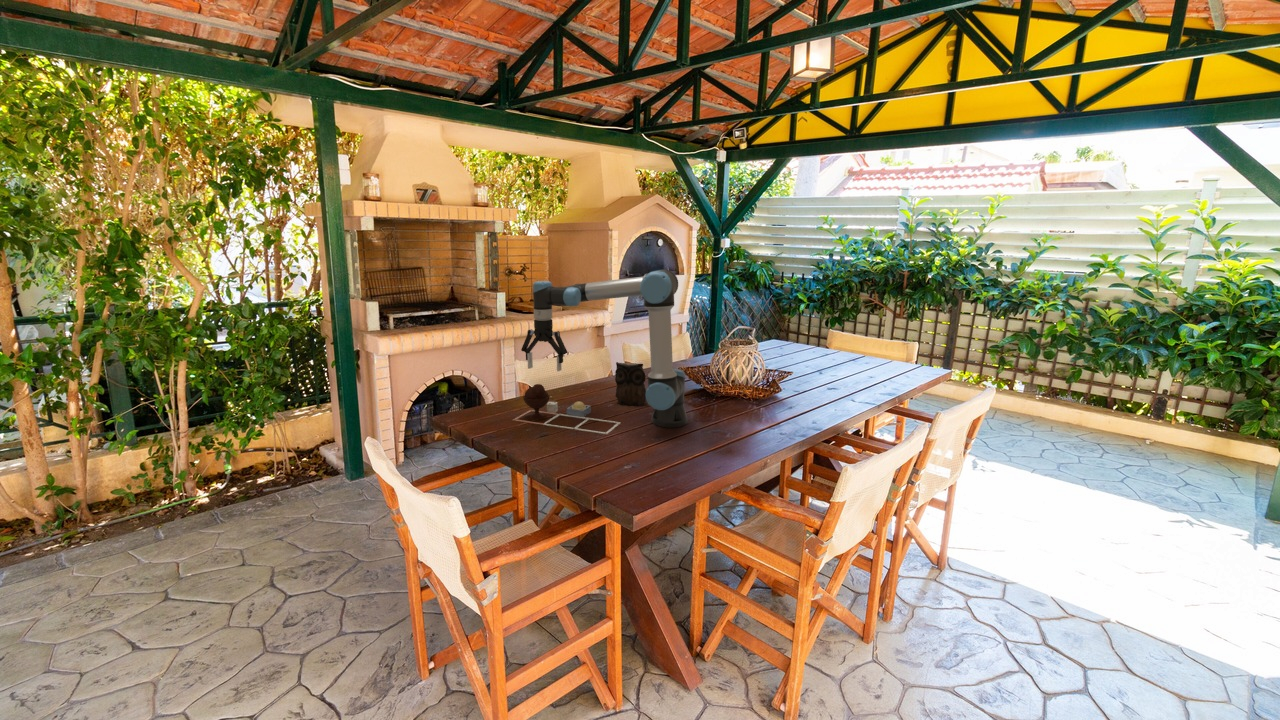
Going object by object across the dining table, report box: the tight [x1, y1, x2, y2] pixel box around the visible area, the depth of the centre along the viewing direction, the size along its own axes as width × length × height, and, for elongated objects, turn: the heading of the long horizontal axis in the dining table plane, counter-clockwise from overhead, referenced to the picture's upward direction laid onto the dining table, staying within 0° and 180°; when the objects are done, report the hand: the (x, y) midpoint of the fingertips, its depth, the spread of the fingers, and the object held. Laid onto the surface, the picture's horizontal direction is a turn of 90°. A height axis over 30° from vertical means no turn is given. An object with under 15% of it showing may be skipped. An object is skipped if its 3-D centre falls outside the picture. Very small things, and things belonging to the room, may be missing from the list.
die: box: [546, 401, 559, 413], centre depth 258 cm, size 4×4×4 cm
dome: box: [572, 400, 586, 410], centre depth 255 cm, size 6×6×5 cm
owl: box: [614, 361, 647, 407], centre depth 270 cm, size 13×13×20 cm
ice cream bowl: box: [522, 383, 550, 421], centre depth 248 cm, size 11×11×15 cm
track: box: [512, 409, 622, 435], centre depth 245 cm, size 15×43×1 cm, turn 71°
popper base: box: [566, 403, 592, 417], centre depth 256 cm, size 8×8×3 cm
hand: (544, 369), depth 244 cm, fingers open, 13 cm apart
